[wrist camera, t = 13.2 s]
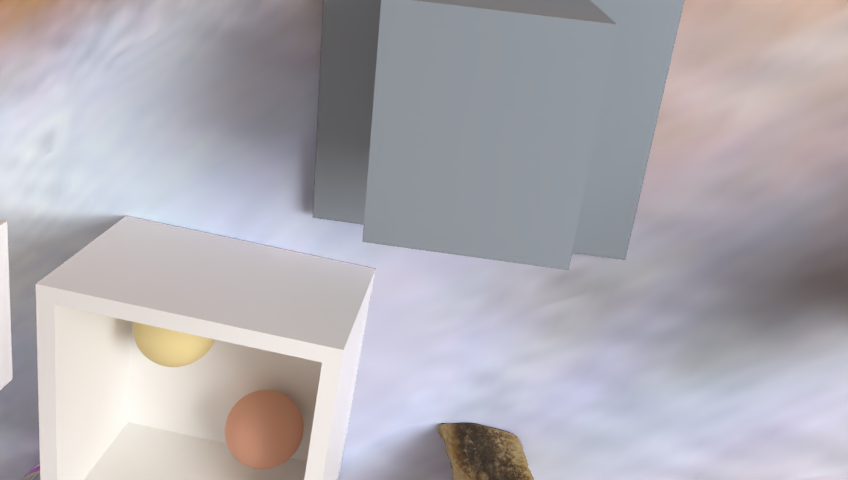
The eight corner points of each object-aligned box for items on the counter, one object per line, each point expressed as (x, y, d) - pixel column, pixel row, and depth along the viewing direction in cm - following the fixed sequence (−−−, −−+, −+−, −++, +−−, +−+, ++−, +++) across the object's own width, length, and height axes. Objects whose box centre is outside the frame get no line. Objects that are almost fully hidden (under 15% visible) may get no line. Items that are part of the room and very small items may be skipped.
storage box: (375, 268, 38) (343, 350, 31) (340, 470, 43) (305, 581, 36) (126, 215, 38) (35, 283, 31) (120, 421, 44) (41, 522, 36)
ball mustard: (232, 281, 38) (203, 319, 35) (226, 348, 40) (197, 390, 36) (155, 265, 38) (118, 300, 35) (152, 332, 40) (116, 373, 36)
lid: (696, -85, 31) (791, -91, 21) (621, 249, 37) (665, 375, 26) (335, -124, 32) (251, -149, 21) (318, 209, 38) (246, 315, 27)
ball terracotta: (316, 383, 40) (296, 429, 36) (306, 443, 42) (287, 493, 38) (242, 368, 40) (216, 412, 37) (236, 428, 42) (210, 476, 38)
